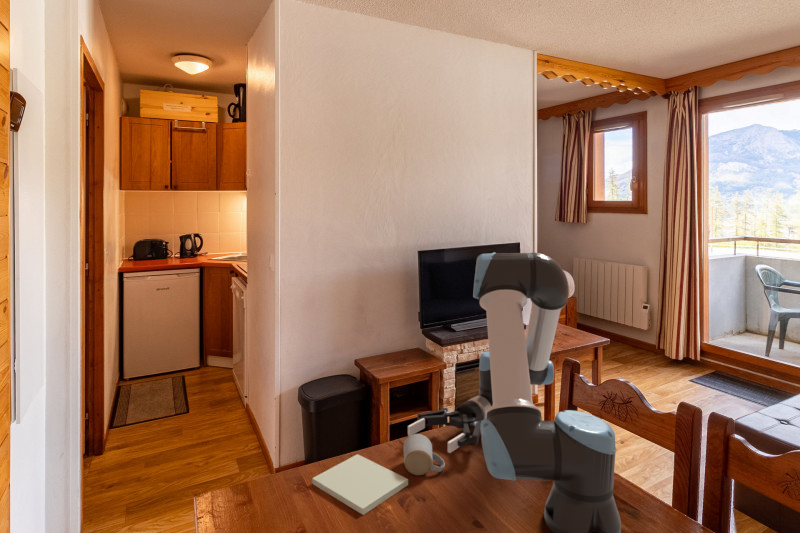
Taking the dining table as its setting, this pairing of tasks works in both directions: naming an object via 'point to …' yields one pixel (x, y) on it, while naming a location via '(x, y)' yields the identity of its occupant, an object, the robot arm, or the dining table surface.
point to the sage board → (360, 483)
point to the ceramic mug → (420, 455)
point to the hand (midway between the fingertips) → (427, 439)
